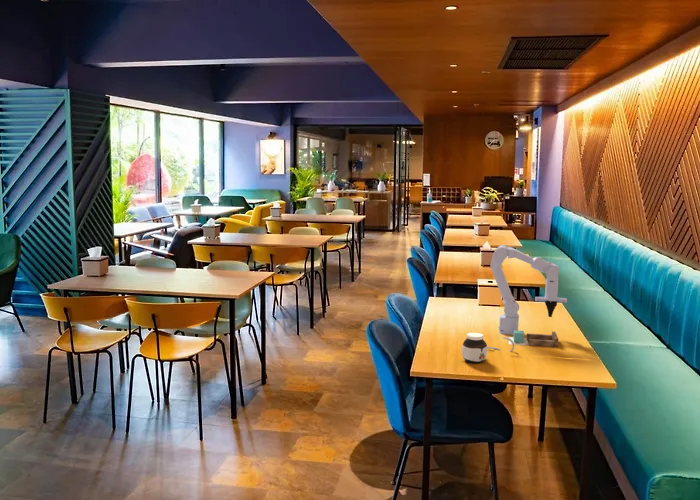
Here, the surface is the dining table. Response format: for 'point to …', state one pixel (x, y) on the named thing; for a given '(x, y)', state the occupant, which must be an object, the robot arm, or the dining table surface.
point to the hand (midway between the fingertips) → (550, 316)
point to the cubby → (538, 340)
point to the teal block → (518, 336)
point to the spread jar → (474, 348)
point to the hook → (499, 349)
